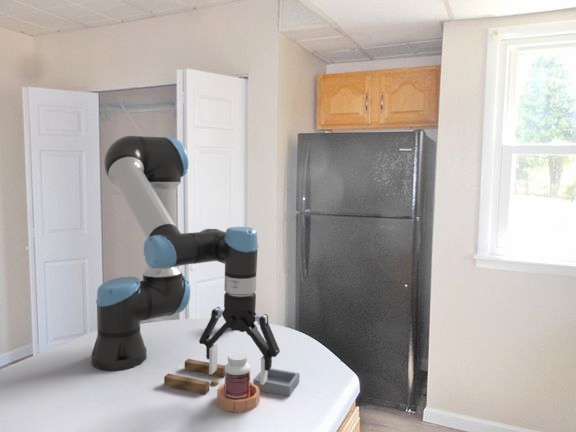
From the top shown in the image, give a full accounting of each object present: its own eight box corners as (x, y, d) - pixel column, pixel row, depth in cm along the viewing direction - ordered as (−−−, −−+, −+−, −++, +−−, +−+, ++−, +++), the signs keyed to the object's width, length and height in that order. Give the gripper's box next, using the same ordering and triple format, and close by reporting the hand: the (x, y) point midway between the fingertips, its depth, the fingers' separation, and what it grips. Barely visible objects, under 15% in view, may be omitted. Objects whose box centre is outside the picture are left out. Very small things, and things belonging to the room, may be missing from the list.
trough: (253, 389, 121) (253, 379, 121) (264, 376, 129) (264, 367, 128) (289, 396, 118) (290, 386, 118) (299, 382, 125) (299, 373, 125)
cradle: (164, 385, 121) (164, 376, 121) (188, 367, 133) (188, 358, 132) (207, 394, 117) (207, 385, 117) (228, 374, 129) (228, 366, 129)
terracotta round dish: (209, 407, 112) (209, 396, 111) (228, 388, 121) (228, 378, 121) (249, 415, 108) (249, 404, 108) (265, 395, 118) (265, 385, 118)
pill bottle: (254, 401, 114) (255, 358, 113) (231, 408, 111) (231, 363, 109) (242, 390, 119) (243, 349, 118) (220, 396, 116) (220, 353, 114)
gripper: (185, 289, 112) (184, 374, 115) (284, 303, 104) (280, 393, 107) (201, 282, 119) (200, 361, 122) (294, 294, 111) (291, 379, 114)
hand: (237, 377), depth 114 cm, fingers open, 13 cm apart
